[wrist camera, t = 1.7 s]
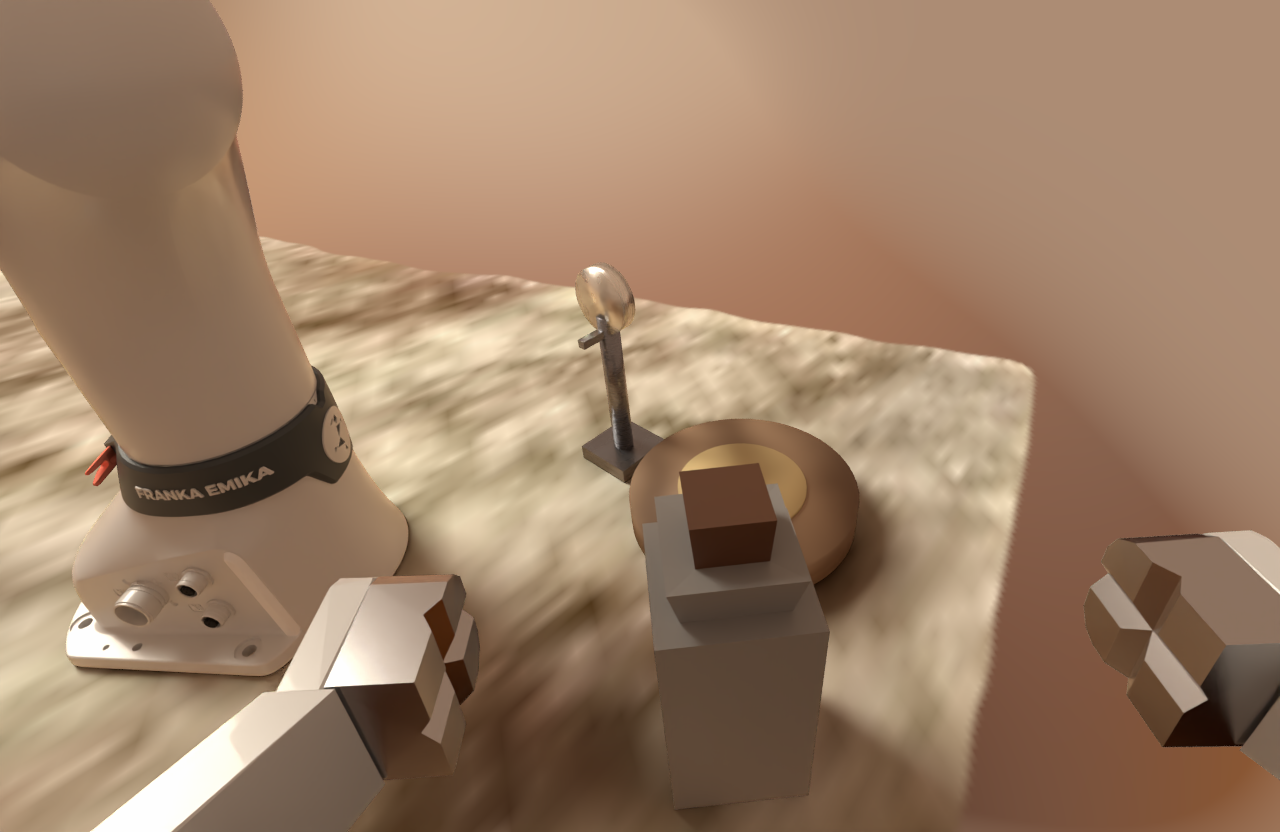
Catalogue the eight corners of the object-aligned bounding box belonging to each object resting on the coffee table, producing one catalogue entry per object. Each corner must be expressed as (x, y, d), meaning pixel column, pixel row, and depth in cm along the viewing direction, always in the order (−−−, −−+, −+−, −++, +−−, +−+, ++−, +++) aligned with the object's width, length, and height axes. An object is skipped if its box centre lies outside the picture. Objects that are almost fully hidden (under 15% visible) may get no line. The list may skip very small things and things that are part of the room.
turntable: (642, 615, 42) (638, 587, 40) (625, 455, 55) (621, 429, 53) (891, 583, 42) (897, 554, 41) (816, 431, 55) (818, 404, 54)
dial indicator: (622, 483, 53) (595, 290, 43) (582, 458, 56) (547, 271, 46) (667, 451, 56) (651, 262, 46) (626, 428, 59) (602, 246, 49)
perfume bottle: (662, 686, 39) (633, 449, 28) (777, 673, 39) (791, 431, 28) (674, 809, 33) (644, 572, 23) (808, 794, 33) (840, 551, 23)
